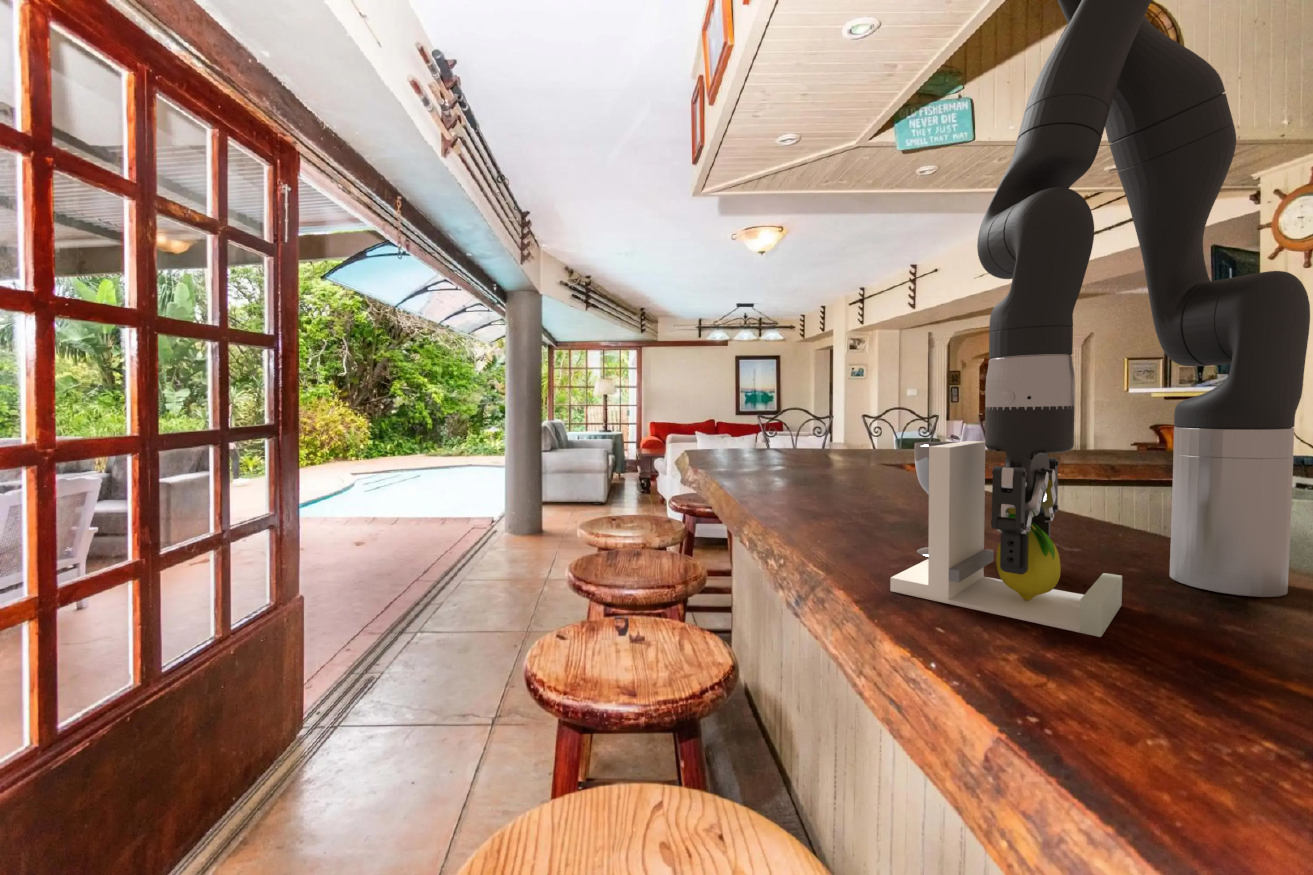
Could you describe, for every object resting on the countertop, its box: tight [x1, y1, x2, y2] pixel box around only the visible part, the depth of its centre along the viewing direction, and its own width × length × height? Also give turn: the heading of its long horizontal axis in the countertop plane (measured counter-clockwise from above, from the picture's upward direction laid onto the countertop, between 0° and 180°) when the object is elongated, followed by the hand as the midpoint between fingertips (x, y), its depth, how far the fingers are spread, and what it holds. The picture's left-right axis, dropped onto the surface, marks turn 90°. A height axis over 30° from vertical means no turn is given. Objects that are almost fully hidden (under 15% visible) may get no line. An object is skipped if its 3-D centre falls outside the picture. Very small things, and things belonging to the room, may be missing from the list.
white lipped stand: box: [889, 440, 1123, 638], centre depth 60 cm, size 11×18×16 cm, turn 44°
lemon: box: [995, 514, 1062, 600], centre depth 59 cm, size 7×6×10 cm
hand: (1025, 563), depth 59 cm, fingers open, 8 cm apart
